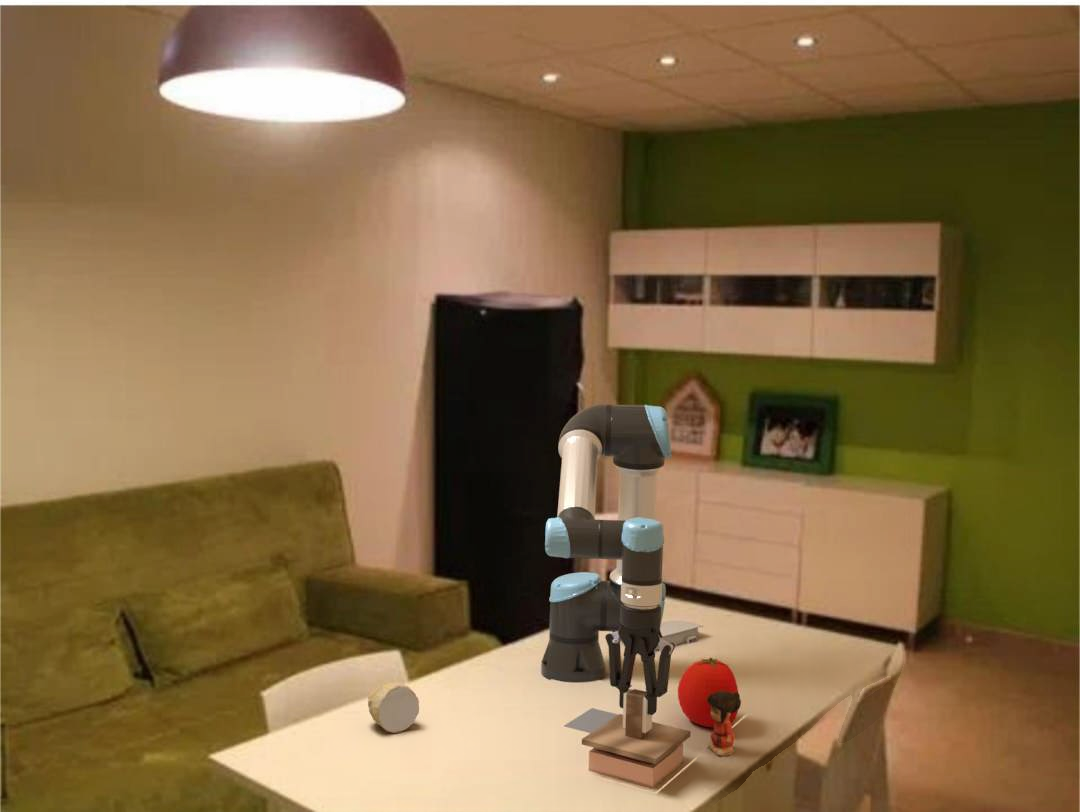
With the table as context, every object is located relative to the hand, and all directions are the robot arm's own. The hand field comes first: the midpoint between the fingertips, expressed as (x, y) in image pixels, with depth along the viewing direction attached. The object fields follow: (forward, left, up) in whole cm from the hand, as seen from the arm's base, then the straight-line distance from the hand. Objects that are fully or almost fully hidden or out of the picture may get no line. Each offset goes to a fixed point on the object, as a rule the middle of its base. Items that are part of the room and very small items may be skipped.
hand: (637, 727), depth 193 cm
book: (-30, +75, -9) cm, 81 cm away
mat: (-15, +15, -8) cm, 23 cm away
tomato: (+3, +27, -8) cm, 28 cm away
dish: (0, 0, -8) cm, 8 cm away
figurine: (+10, +17, -8) cm, 21 cm away
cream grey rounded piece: (-50, -10, -8) cm, 52 cm away
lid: (0, 0, -2) cm, 2 cm away
